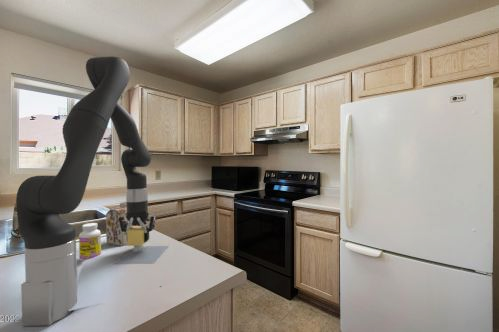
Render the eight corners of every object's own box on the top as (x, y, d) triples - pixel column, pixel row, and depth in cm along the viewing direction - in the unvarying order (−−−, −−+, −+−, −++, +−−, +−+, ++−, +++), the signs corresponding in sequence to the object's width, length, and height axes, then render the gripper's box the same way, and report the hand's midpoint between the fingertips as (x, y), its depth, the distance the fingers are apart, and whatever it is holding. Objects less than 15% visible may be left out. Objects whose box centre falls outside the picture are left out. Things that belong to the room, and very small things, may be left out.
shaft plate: (153, 266, 78) (153, 251, 78) (113, 267, 78) (112, 252, 77) (169, 248, 94) (169, 236, 94) (135, 249, 94) (135, 236, 93)
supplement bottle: (76, 263, 81) (75, 227, 81) (84, 255, 88) (83, 222, 87) (97, 260, 83) (96, 226, 83) (103, 253, 89) (103, 221, 89)
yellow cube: (142, 245, 87) (141, 229, 87) (127, 245, 87) (127, 229, 87) (148, 240, 93) (148, 225, 92) (134, 240, 92) (134, 225, 92)
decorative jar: (129, 235, 111) (128, 199, 111) (146, 238, 106) (145, 200, 106) (105, 243, 100) (104, 203, 100) (122, 247, 95) (121, 205, 95)
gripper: (159, 197, 93) (159, 238, 94) (123, 198, 93) (124, 238, 93) (151, 201, 86) (152, 245, 86) (113, 201, 85) (114, 245, 86)
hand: (138, 241), depth 90 cm, fingers closed on yellow cube, 5 cm apart
